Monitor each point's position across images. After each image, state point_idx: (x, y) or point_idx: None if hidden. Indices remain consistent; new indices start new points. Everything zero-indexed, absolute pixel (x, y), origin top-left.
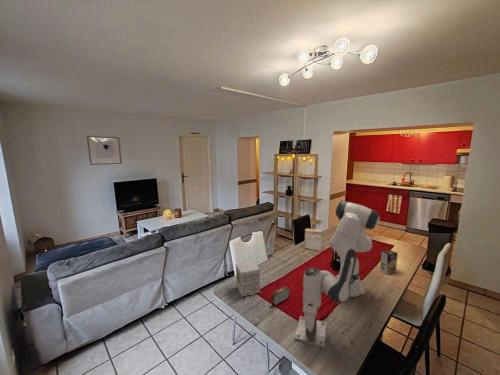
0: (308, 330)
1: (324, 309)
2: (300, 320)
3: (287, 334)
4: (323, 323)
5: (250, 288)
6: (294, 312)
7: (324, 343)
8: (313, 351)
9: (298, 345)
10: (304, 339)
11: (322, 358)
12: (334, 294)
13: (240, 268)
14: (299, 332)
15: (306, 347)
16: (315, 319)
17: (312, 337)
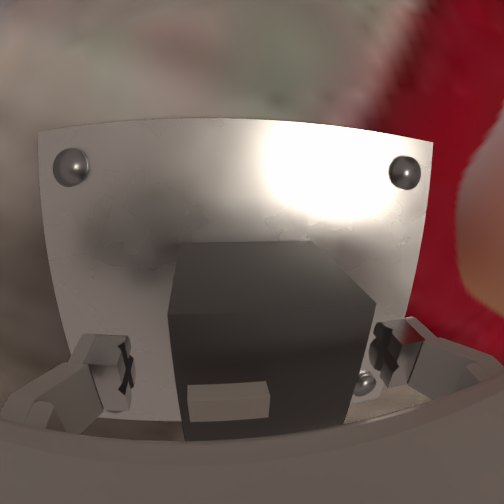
0: (79, 341)
1: (498, 332)
2: (366, 147)
3: (99, 31)
4: (361, 388)
5: None
6: (462, 81)
7: (119, 418)
8: (20, 331)
9: (4, 191)
10: (57, 249)
11: (14, 386)
12: None
13: None
14: (134, 165)
15: (20, 271)
16: (317, 425)
17: (127, 329)
